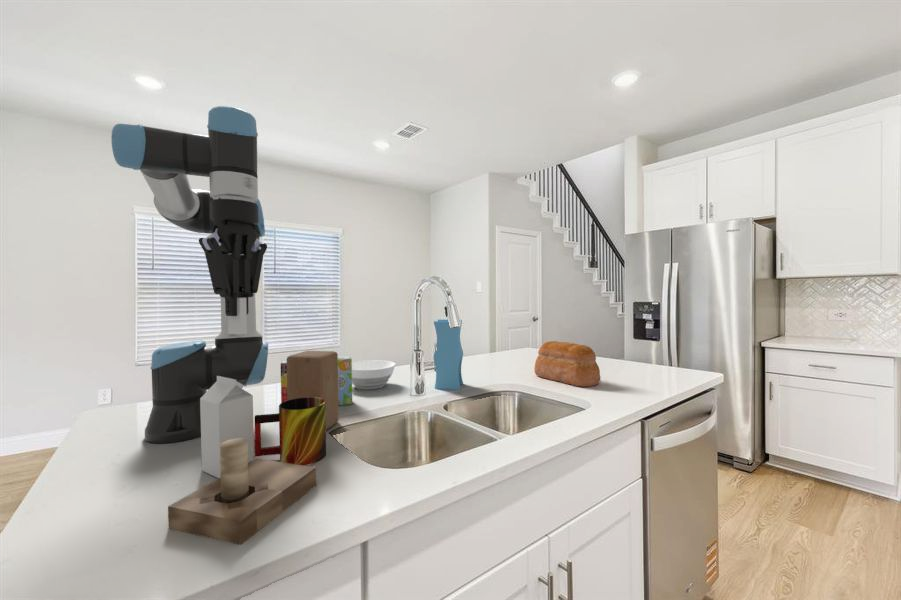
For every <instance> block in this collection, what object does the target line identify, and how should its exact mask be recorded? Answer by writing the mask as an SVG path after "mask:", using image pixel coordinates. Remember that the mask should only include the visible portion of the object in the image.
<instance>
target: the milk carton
mask: <svg viewBox="0 0 901 600" xmlns="http://www.w3.org/2000/svg"><path fill="white" fill-rule="evenodd" d="M243 387H244V386H243V385H242V384H241V383H239V382H236V380H235V379H230V378H225V377H221V376H217V381H216V383H215V384H214V385H213V386H212V387H211V388H210V389H208V390H207V392H206V393H205V394H204V395H203V396H202V397H201V398H200V415H201V436H200V444H201V445H200V446H201V447H200V448H201V449H200V450H201V471H202V472H204V473H207V474H209V475H211V476H212V477H215V478H218V479H219V478H221V471H220V444H221V443H223V442H225V441H227V440H231V439H237V438H244V439H247V440H248V462H250V461H252V460H254V459H255V426H254V398H253V397H254V396H253V394H251V393H250V392H248V391H246V390H245V389H243Z"/></svg>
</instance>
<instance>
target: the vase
mask: <svg viewBox="0 0 901 600" xmlns="http://www.w3.org/2000/svg"><path fill="white" fill-rule="evenodd" d="M459 320H460V321H461V326H460V327H458V328H453V329H452V328H450V326H449V322H448V318H447V319H442V318H441V319H439V318H438V319H437V321H435V320H433V325H434V327H435V328H434V329H435V335H436V345H435V350H434V353H433V362H434V366H435V384H434V389H435V390H447V391H448V390H449V391H451V390H453V391H460V390H461V385H463V384H464V382H463V376H462V375H463V374H462V362H463V357H464V350H463V347H462V343H461V329H462V324H463V320H462V319H459ZM436 347H437V351H436Z"/></svg>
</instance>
